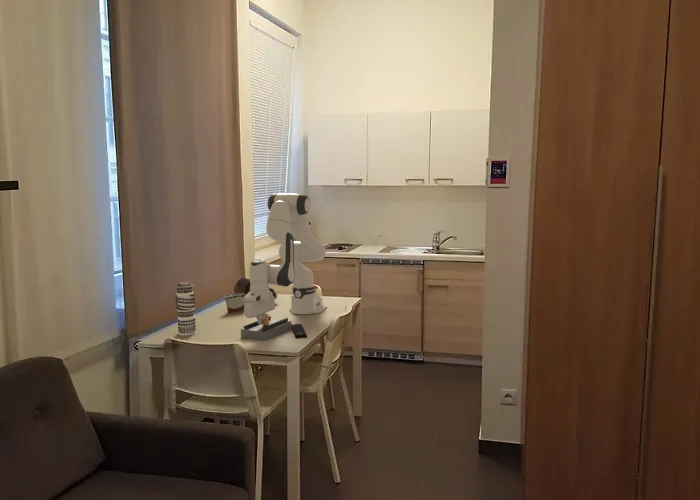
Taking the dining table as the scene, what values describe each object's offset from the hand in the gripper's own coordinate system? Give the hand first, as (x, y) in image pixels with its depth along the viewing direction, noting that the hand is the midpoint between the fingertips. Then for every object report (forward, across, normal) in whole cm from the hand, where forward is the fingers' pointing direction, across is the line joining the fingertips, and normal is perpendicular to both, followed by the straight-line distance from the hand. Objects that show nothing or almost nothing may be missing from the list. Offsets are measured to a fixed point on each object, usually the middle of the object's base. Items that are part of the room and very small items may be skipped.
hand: (261, 323), depth 287 cm
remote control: (+7, -12, +13) cm, 19 cm away
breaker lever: (+2, -4, 0) cm, 4 cm away
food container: (+6, -36, -44) cm, 57 cm away
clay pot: (+6, -58, -44) cm, 73 cm away
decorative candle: (+6, +10, -37) cm, 39 cm away
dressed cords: (+2, -4, 0) cm, 5 cm away
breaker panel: (+6, -4, 0) cm, 7 cm away
